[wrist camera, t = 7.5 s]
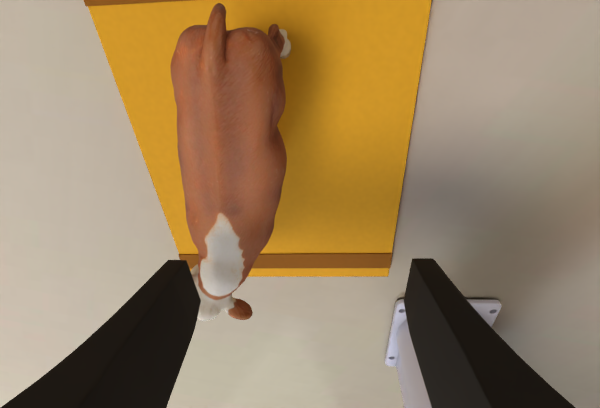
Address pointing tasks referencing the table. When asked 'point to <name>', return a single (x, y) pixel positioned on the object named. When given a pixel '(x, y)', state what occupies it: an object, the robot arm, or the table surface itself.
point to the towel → (292, 119)
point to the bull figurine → (229, 150)
